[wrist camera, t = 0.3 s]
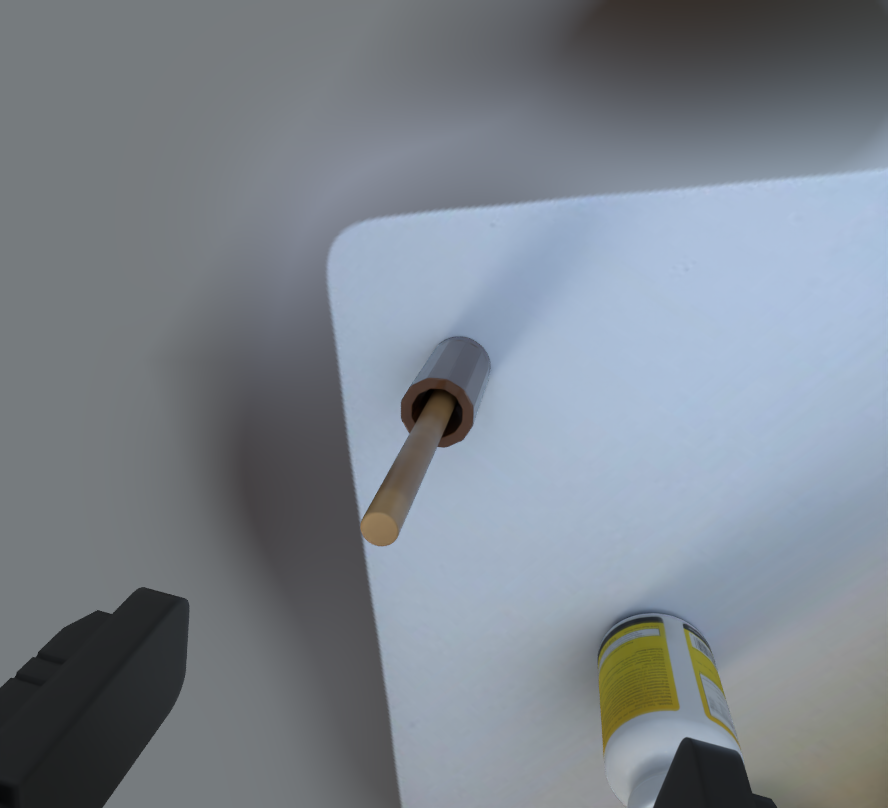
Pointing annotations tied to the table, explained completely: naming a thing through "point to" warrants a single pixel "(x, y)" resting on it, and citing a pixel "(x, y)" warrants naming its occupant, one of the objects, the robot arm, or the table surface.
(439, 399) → the stick
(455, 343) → the holder
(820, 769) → the table surface
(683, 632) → the pill bottle
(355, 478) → the table surface
